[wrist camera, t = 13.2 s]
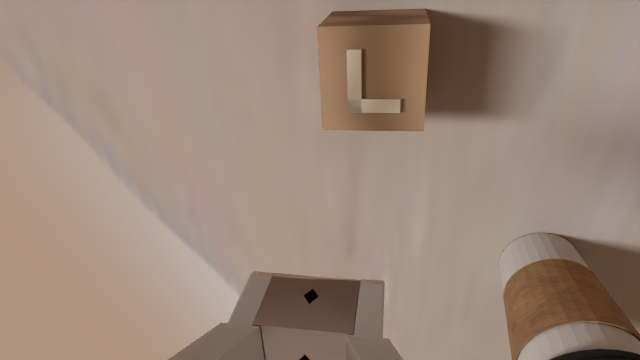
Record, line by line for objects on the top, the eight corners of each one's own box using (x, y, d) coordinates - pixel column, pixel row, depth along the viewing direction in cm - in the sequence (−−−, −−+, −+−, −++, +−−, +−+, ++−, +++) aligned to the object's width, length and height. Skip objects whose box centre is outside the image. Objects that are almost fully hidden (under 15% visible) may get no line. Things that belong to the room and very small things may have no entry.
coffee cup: (496, 310, 39) (544, 498, 26) (470, 234, 35) (509, 404, 22) (603, 290, 36) (717, 490, 23) (585, 206, 33) (706, 382, 20)
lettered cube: (335, 102, 32) (321, 135, 27) (332, 11, 29) (316, 27, 24) (420, 102, 31) (423, 136, 26) (425, 8, 28) (430, 24, 23)
